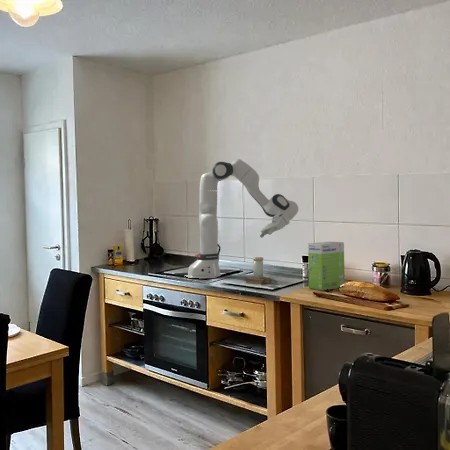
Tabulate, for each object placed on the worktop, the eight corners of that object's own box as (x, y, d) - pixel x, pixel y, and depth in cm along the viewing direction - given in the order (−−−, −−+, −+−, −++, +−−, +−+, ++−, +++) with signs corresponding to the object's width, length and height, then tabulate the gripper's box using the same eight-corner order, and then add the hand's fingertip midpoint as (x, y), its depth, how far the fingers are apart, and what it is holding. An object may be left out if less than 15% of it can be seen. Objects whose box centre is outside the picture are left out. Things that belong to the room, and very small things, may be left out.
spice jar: (255, 279, 290) (255, 258, 289) (251, 277, 295) (251, 257, 294) (265, 278, 292) (264, 258, 291) (261, 276, 297) (260, 256, 296)
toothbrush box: (330, 284, 283) (330, 240, 281) (345, 287, 274) (345, 242, 273) (307, 288, 272) (307, 243, 271) (322, 291, 264) (322, 244, 262)
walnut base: (260, 284, 287) (260, 280, 286) (246, 282, 293) (246, 278, 293) (270, 282, 294) (270, 277, 294) (256, 280, 301) (256, 276, 301)
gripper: (267, 220, 319) (253, 234, 313) (285, 213, 301) (270, 227, 295) (273, 228, 320) (259, 242, 314) (291, 221, 302) (277, 236, 296)
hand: (265, 235), depth 304 cm, fingers open, 8 cm apart
